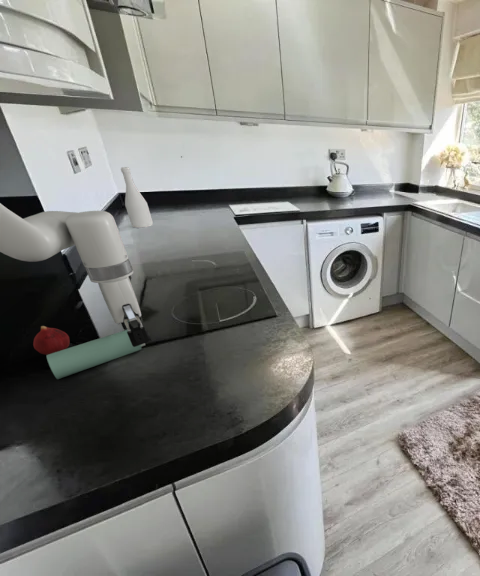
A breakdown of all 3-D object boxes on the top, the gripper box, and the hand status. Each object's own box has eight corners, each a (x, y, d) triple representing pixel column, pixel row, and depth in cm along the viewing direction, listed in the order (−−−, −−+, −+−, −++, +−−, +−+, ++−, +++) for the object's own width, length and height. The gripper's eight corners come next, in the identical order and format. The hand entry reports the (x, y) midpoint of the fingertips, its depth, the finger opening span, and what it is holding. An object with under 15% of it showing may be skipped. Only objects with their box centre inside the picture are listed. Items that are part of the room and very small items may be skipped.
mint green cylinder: (58, 384, 68) (47, 362, 65) (56, 371, 71) (45, 350, 69) (155, 348, 79) (148, 329, 76) (149, 339, 82) (142, 320, 80)
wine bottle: (149, 227, 172) (131, 168, 159) (129, 228, 170) (109, 168, 157) (156, 223, 181) (139, 166, 167) (137, 224, 179) (118, 166, 165)
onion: (79, 345, 80) (66, 317, 76) (67, 360, 75) (52, 331, 71) (50, 349, 78) (35, 321, 74) (35, 364, 73) (18, 335, 69)
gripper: (82, 263, 73) (110, 327, 80) (94, 287, 62) (124, 358, 70) (123, 255, 78) (145, 316, 85) (140, 276, 67) (164, 344, 74)
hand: (136, 335), depth 77 cm, fingers open, 9 cm apart
